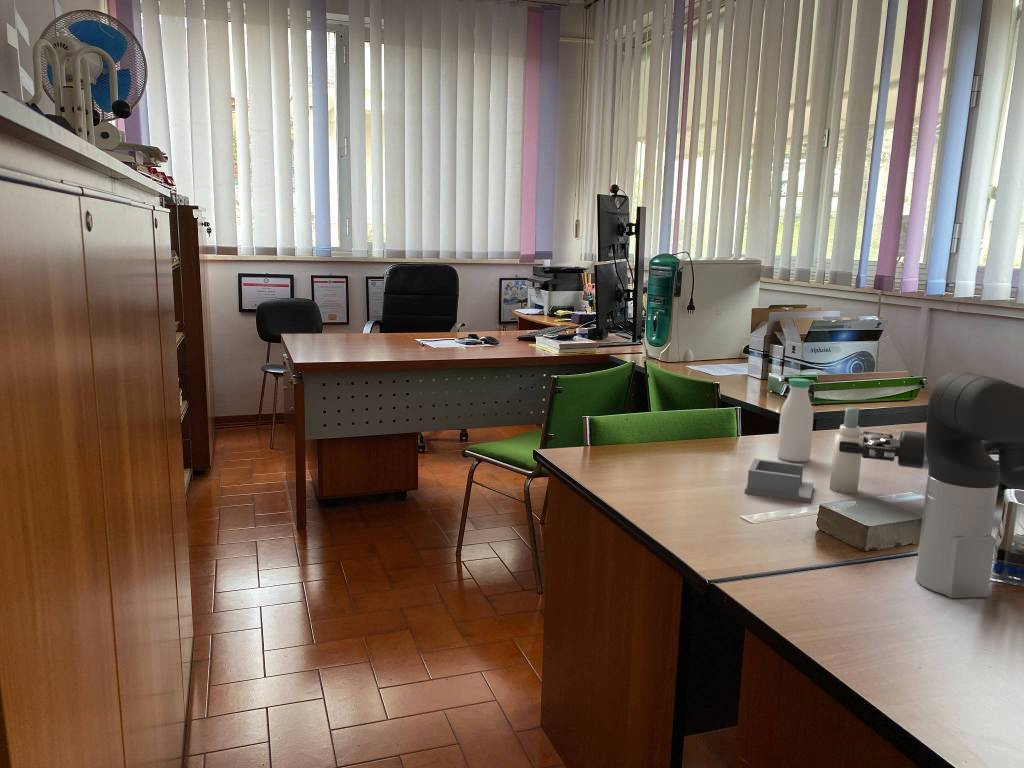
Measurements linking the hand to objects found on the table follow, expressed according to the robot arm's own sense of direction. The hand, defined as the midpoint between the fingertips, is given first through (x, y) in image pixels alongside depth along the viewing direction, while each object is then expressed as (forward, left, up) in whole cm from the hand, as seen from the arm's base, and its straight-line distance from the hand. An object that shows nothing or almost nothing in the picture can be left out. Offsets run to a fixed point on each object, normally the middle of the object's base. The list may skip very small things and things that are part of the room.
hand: (839, 441), depth 160 cm
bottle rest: (-1, +14, -10) cm, 17 cm away
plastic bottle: (-1, -1, -10) cm, 11 cm away
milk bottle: (+23, -1, -11) cm, 26 cm away
